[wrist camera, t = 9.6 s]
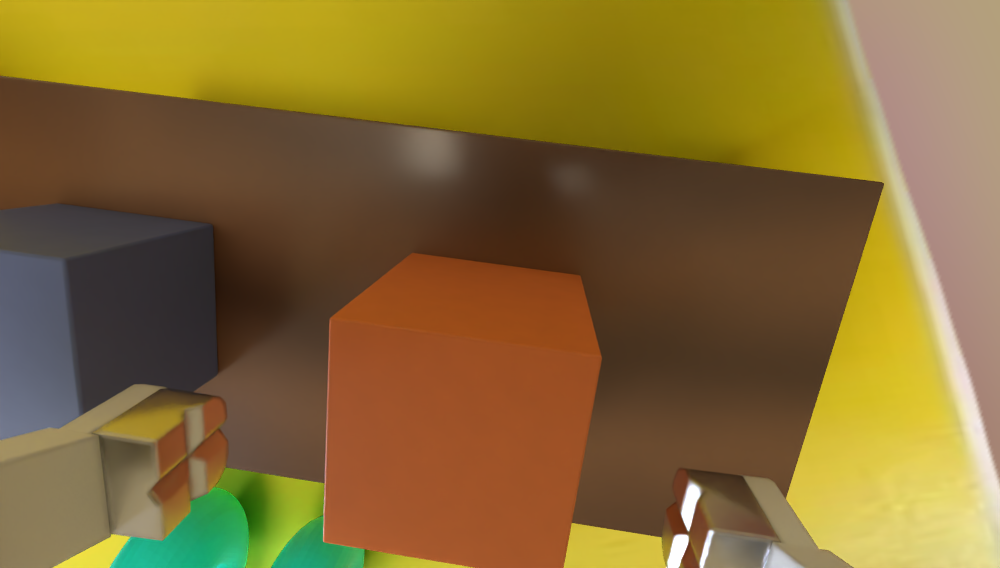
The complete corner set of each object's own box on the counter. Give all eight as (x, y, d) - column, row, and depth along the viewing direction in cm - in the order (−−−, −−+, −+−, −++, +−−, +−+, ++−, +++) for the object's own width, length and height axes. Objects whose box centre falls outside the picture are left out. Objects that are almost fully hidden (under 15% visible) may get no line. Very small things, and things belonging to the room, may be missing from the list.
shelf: (191, 100, 25) (-39, 71, 15) (744, 167, 23) (886, 182, 14) (201, 334, 28) (17, 434, 18) (687, 405, 26) (769, 555, 17)
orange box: (411, 252, 15) (328, 317, 9) (581, 275, 15) (602, 356, 9) (400, 404, 16) (321, 543, 11) (555, 427, 16) (561, 583, 10)
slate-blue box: (57, 202, 16) (-159, 227, 11) (214, 223, 15) (64, 258, 11) (74, 353, 17) (-112, 434, 12) (219, 375, 17) (88, 467, 12)
